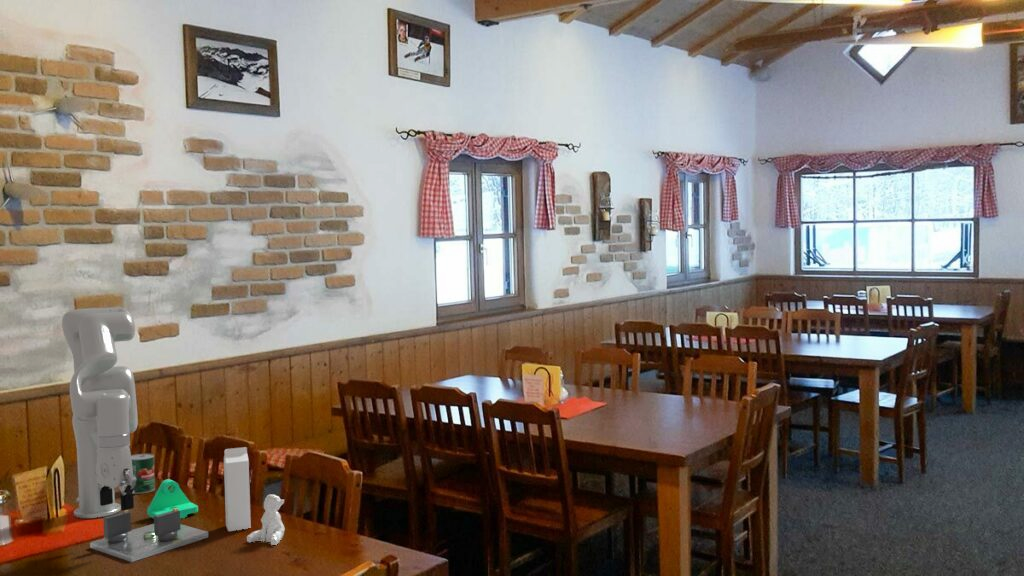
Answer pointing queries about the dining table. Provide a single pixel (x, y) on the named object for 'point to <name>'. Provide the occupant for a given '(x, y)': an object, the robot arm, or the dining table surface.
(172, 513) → the knob
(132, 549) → the plate
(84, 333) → the robot arm
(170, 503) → the camera mount
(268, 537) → the sitting furry creature
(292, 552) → the dining table surface
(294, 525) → the dining table surface
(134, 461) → the canned tomato
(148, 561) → the dining table surface
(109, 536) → the knob
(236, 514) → the milk
